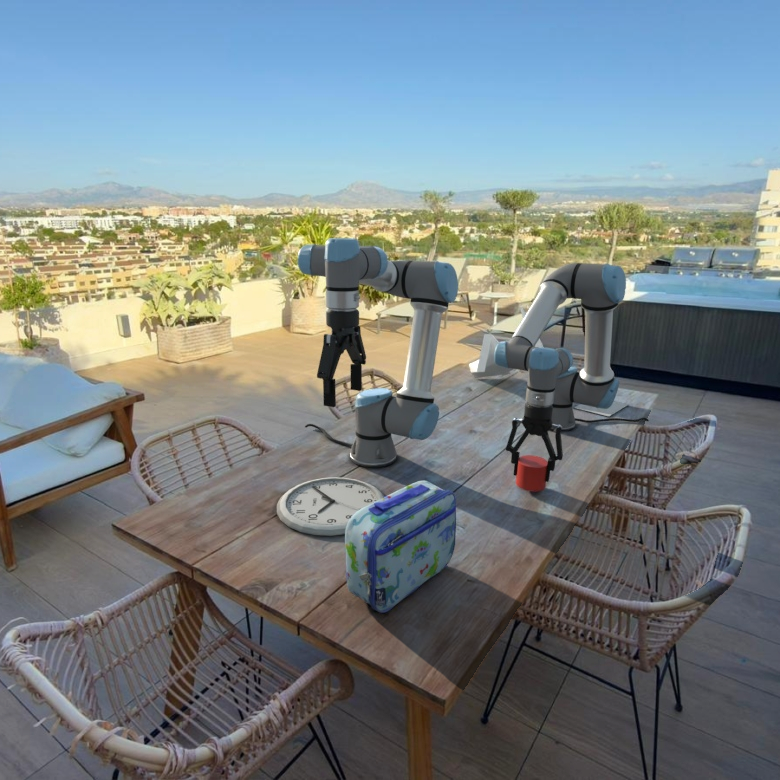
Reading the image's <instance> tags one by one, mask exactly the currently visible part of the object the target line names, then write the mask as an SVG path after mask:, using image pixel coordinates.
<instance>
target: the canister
mask: <svg viewBox="0 0 780 780" xmlns="http://www.w3.org/2000/svg"><path fill="white" fill-rule="evenodd" d="M547 464H548V460H547V459H546V458H544V457H542V456H538V455H532V454H527V455H526V454H525V455H521V456H519V458H518V465H517V475H516V476H515V485H516V486H517V487H518V488H520V489H521V490H524V491H527V492H541V491H543V490H545V489H546V484H547V482H546V473H547Z"/></svg>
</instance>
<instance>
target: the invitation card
mask: <svg viewBox="0 0 780 780" xmlns="http://www.w3.org/2000/svg"><path fill="white" fill-rule="evenodd" d="M628 406H629V404H627V403H623V402H618V401H615V400H614V401H613V403H612V405H611V406H610V407H609V408H608V409H603V408H596V407H592V406H587V405H583V404H578V405H575V406H574V407H573V409H575V410H581V411H584V412H587V413H593V414H596V415H600V416H604V417H608V418H610V417H611V416H613V415H614V414H616V413H617V412H619V411H621V410H623V409H624V408H626V407H628Z"/></svg>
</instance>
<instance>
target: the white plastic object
mask: <svg viewBox="0 0 780 780" xmlns="http://www.w3.org/2000/svg"><path fill="white" fill-rule="evenodd" d="M519 310H520V314H521V316H522V320H523V319H524V317H525V315H526V314H527V312H526V310H525V309H524V307H520V308H519ZM509 341H510V339H506V340H502V341H499V340H498V339H497V338H496V336H494V334H492V333H488V334H487V333H484V334H483V339H482V344H481V349H480V353H479V358H478V359H477V360H475V361H472V362H470V363H469V364H468V366H469V370H470V373H471V375H472V376H473V378H475V379H478V378H487V377H494V376H495V377H497V376H501V377H504V376H507V375H510V374H511V371H513V370H514V369H512V368H506V367H502V366H499V365H497V364H496V363H495V360H494V351H495V348H496V346H497V344H498V343H500V342H509ZM535 347H543V348H545V347H544V344H543V341H541V338H539V340H538V342H537V343H536V345H535Z"/></svg>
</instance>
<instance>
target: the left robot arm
mask: <svg viewBox="0 0 780 780" xmlns="http://www.w3.org/2000/svg"><path fill="white" fill-rule="evenodd" d="M296 261H297V266H298V269H299V270H300V272H301V274H304V275H305V276H306V275H307V276H312V277H324V278H325V307H326V308H327V310H326V311H325V323H326V326H327V327H328V328H330V329H331V333H330V334H328V333H324V334H323V345H322V350H321V354H320V357H319V363H318V368H317V372H316V378H317V379H320V380H321V379H322V390H323V391H322V393H323V395H322V396H323V406H324V407H330V408H336V407H337V405H336V404H337V401H336V399H337V398H336V397H337V395H336V393H337V391H336V378H334V377H335V374H336V370H337V368H338V365H339V362H340V359H341V355H343V354H344V352H345V351H346V352H347V354H348V357H349V359H350V361H351V362H352V363H351V364H350V390H351V391H357V392H358V391H359V393H358V394H357V395H356V396H355V405H354V410H355V411H354V412H355V437H354V439H353V442H352V443H348V442H345V441H341V440H338V439H335V438H333V437H331V436H329V434H328V433H327V432H326V430H325V429H324V428H322V427H320V426H319V425H316V424H314V423H307V424H306V425H304V428H309V427H312V428H315V429H317V430H319V431H321V432H322V433H323V436H324V437H325V438H326V439H328V440H330V441H332V442H335V443H337V444H340V445H344V446H347V447H351V448H350V452H349V459H350V461H351V462H352V463H353V464H355V465H357V466H359V467H364V468H374V469H375V468H382V467H387V466H390V465H392V464H394V463H395V462H396V461H397V450H396V447H395V443H394V441H393V438H392V435H395V436H400V437H405V438H409V439H410V440H418V441H423V440H426V439H428V438H429V437H430V436H431V435H432V434H433V432H434V431H435V429H436V426H437V424H438V421H439V417H440V416H439V415H440V408H439V405H437V403H434V402H435V396H434V395H433V393H432V392H431V389H432V383H433V377H434V369H435V365H436V357H437V351H438V350H437V349H438V344H439V343H438V342H439V337H440V330H441V324H442V318H443V317H442V316H443V313H445V312H446V311H448V310H449V304H451V303H454V302H455V301H456V299H457V297H458V292H459V279H458V274H457V271H456V268H455V267H454V265H452V264H451V263H449V262H445V261H444V262H443V261H438V260H435V261H433V260H408V259H406V260H404V259H403V260H402V259H401V260H388V256H387V254H386V252H385V251H384V249H382V248H381V247H379V246H374V245H367V246H361V245H360V242H359V240H358V239H357V238H347V237H346V238H345V237H344V238H341V237H340V238H335V237H330V238H328V239H327V240H326V241H325V244H316V243H313V244H304V245H303V246H301V248H300V249H299V250H298V252H297V260H296ZM360 285H364V286H369V287H372V288H373V289H374V290H375V291H377V292H381V293H385V294H388V295H391V296H394V297H398V298H402V299H407V300H408V299H409V300H410V303H409V305H410V306H411V308H412V309H413V315H412V323H411V324H412V325H411V330H410V335H409V343H408V349H407V356H406V362H405V369H404V370H405V371H404V376H403V384H402V387H401V388H399V390H397V392H396V396H393V394H394V393H393V391H392V389H390V388H386V387H385V388H384V387H381V388H380V387H379V388H370V389H365V390H362V389H363V388H362V387H363V386H362V385H363V383H362V382H363V380H362V379H363V377H362V376H363V375H362V373H363V371H362V370H363V368H362V366H364V365H366V363H367V354H366V350H365V346H364V342H363V337H362V333H361V331H362V330H361V326H360V310H359V309H358V308H359V307H360V300H361V295H360Z"/></svg>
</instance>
